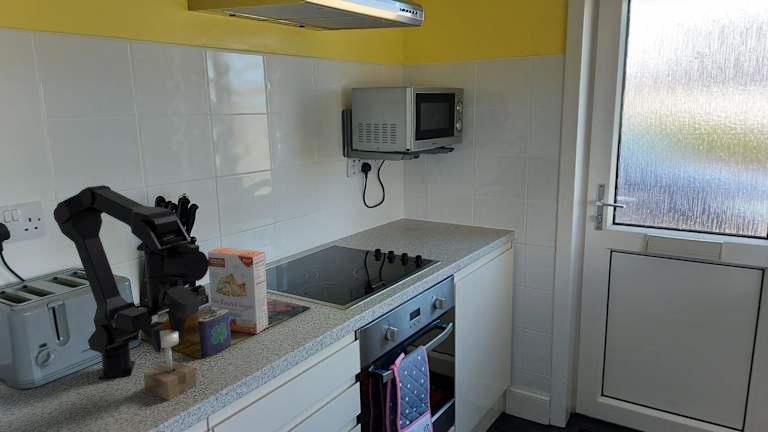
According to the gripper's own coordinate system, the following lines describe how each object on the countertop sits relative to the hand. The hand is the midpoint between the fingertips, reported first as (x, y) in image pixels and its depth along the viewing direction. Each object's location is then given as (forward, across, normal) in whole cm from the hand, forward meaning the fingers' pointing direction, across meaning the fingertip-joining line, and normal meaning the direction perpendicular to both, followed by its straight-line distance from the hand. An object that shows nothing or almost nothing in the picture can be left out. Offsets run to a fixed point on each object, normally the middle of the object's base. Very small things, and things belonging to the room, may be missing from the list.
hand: (167, 347), depth 113 cm
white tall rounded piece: (+6, 0, 0) cm, 6 cm away
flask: (+9, +18, +6) cm, 21 cm away
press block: (+9, 0, 0) cm, 9 cm away
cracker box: (+9, +32, +11) cm, 35 cm away
